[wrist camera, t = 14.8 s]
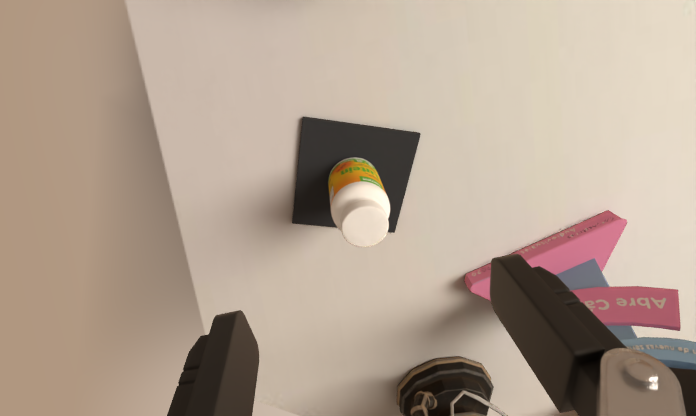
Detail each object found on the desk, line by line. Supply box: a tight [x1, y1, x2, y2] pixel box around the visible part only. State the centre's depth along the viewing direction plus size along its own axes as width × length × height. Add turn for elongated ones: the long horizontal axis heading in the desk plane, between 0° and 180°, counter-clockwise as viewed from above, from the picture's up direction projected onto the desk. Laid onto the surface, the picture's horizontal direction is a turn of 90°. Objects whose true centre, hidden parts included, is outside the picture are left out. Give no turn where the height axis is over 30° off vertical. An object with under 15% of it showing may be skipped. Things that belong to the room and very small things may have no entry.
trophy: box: [464, 210, 696, 370], centre depth 34 cm, size 20×17×30 cm
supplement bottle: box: [328, 157, 390, 247], centre depth 33 cm, size 5×5×10 cm
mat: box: [292, 117, 420, 232], centre depth 37 cm, size 12×12×1 cm
